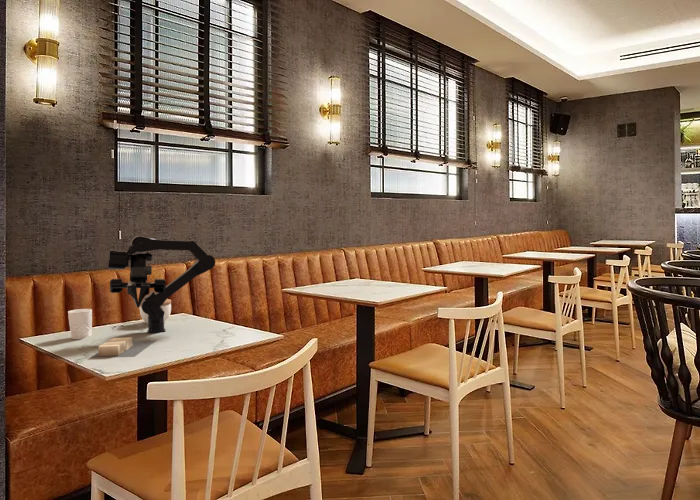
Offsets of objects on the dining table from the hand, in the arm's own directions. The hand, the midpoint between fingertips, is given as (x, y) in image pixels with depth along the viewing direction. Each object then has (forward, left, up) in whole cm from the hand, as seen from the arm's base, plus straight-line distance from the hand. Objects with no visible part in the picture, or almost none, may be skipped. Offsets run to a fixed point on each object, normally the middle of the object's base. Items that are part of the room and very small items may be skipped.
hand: (137, 306), depth 191 cm
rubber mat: (+13, -4, -12) cm, 18 cm away
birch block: (+10, -5, -10) cm, 15 cm away
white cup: (-15, -20, -12) cm, 28 cm away
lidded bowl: (-31, +6, -12) cm, 34 cm away
